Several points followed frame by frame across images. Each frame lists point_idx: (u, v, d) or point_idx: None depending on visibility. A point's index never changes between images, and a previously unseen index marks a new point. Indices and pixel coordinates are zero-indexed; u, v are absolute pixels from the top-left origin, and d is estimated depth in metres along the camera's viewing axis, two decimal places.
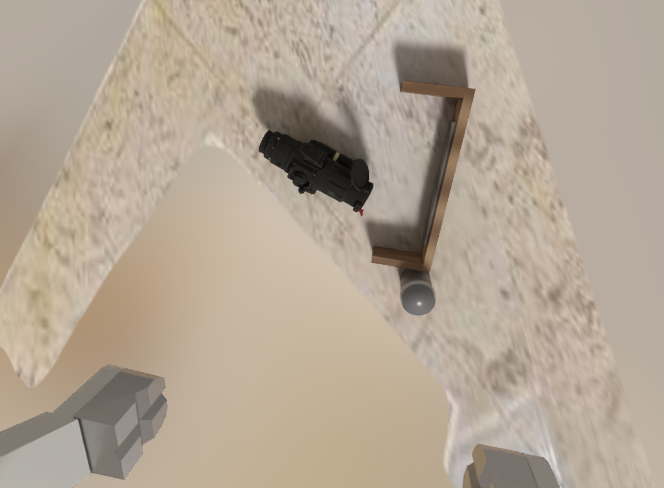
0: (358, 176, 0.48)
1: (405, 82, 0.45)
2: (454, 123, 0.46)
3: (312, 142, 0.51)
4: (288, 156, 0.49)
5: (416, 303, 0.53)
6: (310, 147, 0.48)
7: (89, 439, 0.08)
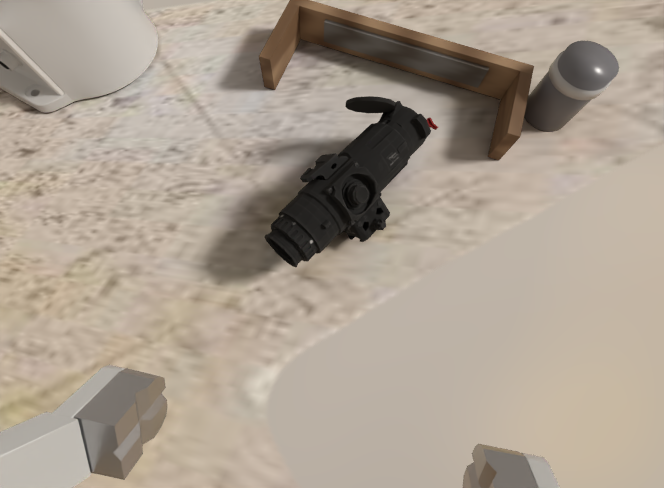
0: None
1: (261, 54, 0.34)
2: (326, 21, 0.37)
3: None
4: (315, 200, 0.27)
5: (596, 64, 0.32)
6: (310, 170, 0.29)
7: (89, 439, 0.08)
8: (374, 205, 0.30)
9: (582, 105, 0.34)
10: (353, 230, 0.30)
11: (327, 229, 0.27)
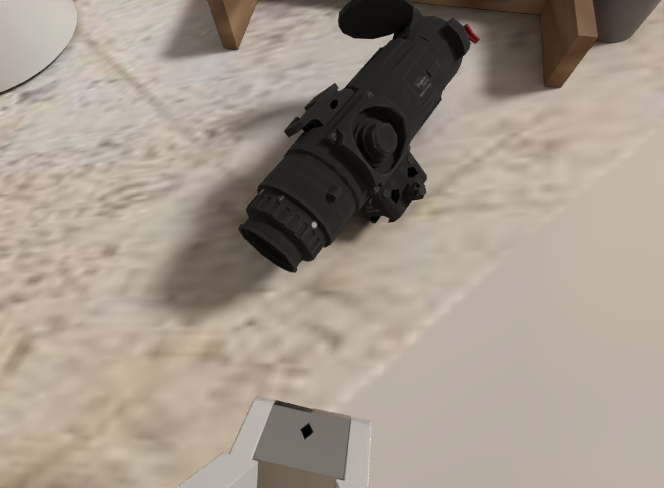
0: None
1: None
2: None
3: None
4: (311, 156, 0.16)
5: None
6: (299, 118, 0.18)
7: (264, 481, 0.07)
8: (403, 163, 0.20)
9: None
10: (377, 205, 0.19)
11: (338, 202, 0.16)
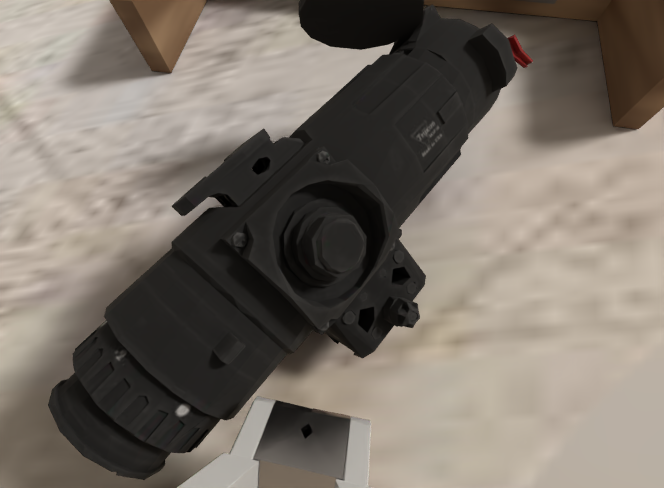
0: None
1: None
2: None
3: None
4: (195, 271, 0.09)
5: None
6: None
7: (265, 481, 0.07)
8: (386, 263, 0.12)
9: None
10: (334, 332, 0.12)
11: (238, 362, 0.09)
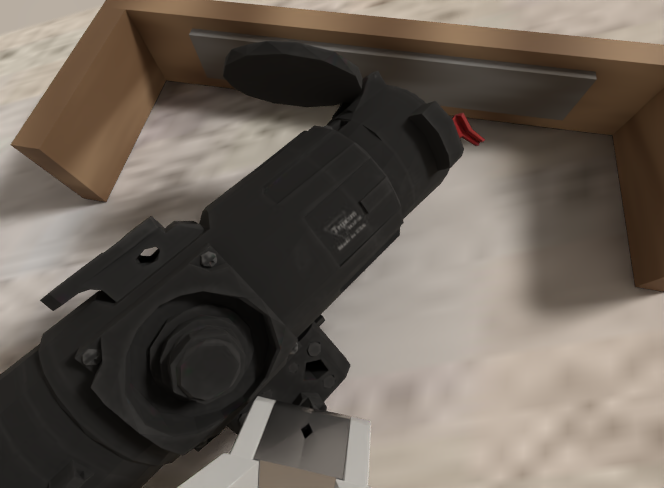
0: None
1: (19, 138, 0.13)
2: (193, 32, 0.16)
3: None
4: (44, 386, 0.08)
5: None
6: None
7: (265, 481, 0.07)
8: (297, 357, 0.11)
9: None
10: None
11: None
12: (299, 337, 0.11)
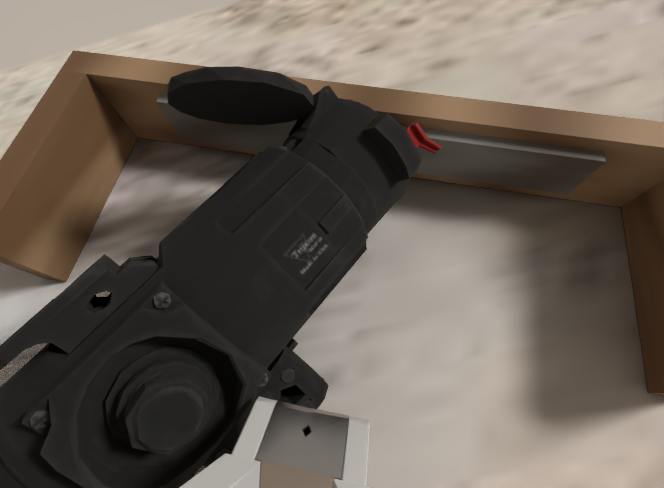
0: None
1: None
2: (161, 98, 0.15)
3: None
4: None
5: None
6: None
7: (266, 481, 0.07)
8: (271, 386, 0.10)
9: None
10: None
11: None
12: (271, 365, 0.10)
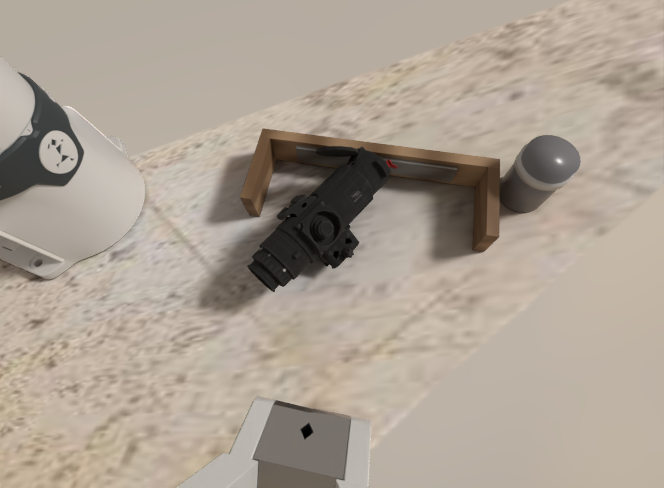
0: None
1: (242, 194, 0.36)
2: (297, 147, 0.39)
3: None
4: (287, 234, 0.32)
5: (558, 158, 0.33)
6: (286, 209, 0.34)
7: (264, 480, 0.07)
8: (343, 236, 0.35)
9: (553, 191, 0.35)
10: (325, 258, 0.35)
11: (298, 259, 0.32)
12: None
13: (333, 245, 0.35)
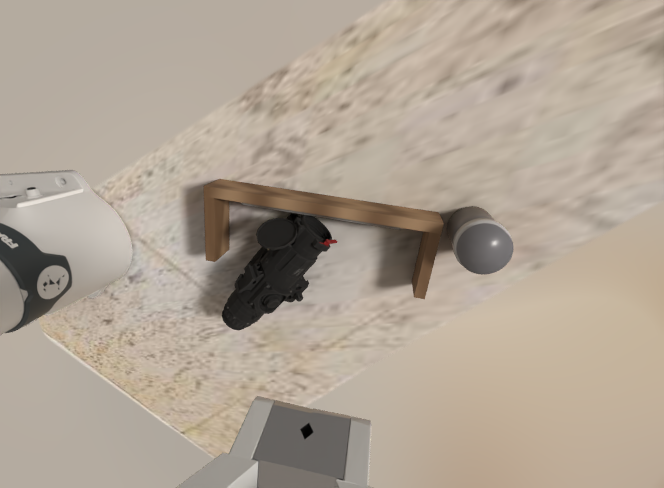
0: (277, 236, 0.37)
1: (207, 258, 0.42)
2: (243, 203, 0.39)
3: None
4: (244, 305, 0.41)
5: (489, 254, 0.33)
6: (241, 278, 0.41)
7: (264, 480, 0.07)
8: (293, 287, 0.43)
9: None
10: None
11: (257, 317, 0.42)
12: None
13: None
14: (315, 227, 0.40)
